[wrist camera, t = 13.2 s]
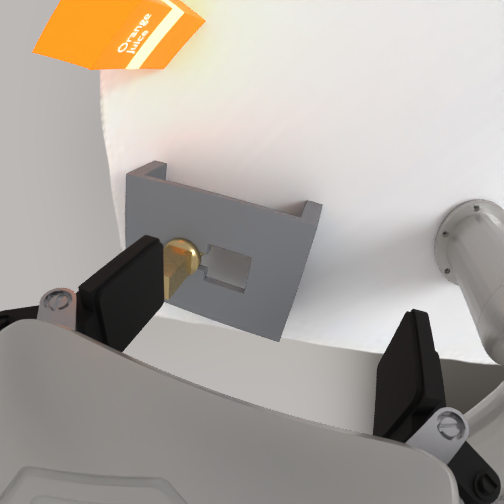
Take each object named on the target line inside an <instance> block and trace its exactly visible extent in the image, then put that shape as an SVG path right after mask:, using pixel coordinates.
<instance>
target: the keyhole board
mask: <svg viewBox="0 0 504 504" xmlns="http://www.w3.org/2000/svg"><path fill="white" fill-rule="evenodd" d="M166 165H167V163H163V162H159V161H153V162H151V163H148V164H146V165H144V166H142V167H140V168H138V169H135V170H133V171H131V172H129V173H127V174H126V203H125V235H126V249H127V248H128V247H129V246H131V245H132V244H133V243H135V242H136V241H137V240H139V239H140V238H141V237H143V236H144V235H149V236H152V237H156V238H159V239H160V243H162V244H163V249H164V247H165V245H166V244H167V243H168V242H169V241H171V240H172V239H174V238H185V239H188V240H189V241H191V242H192V243H193V244H194V245H195V246H196V247H197V248H198V250H199V252H201V253H204V254H207V253H208V252H209V251H210V245H213V246H217V247H220V248H223V249H226V250H229V251H233V252H236V253H239V254H242V255H245V256H248V257H252V260H251V264H250V269H249V273H248V278H247V282H246V287H245V289H242V288H239V287H236V286H233V285H230V284H227V283H224V282H221V281H218V280H215V279H212V278H209V277H206V274H207V267H205V266H202V265H200V266H199V267H198V269H197V270H196V271H195V272H194V273H193V274H192V275H189V276H188V277H187V278H186V279H185V280H184V282H183V283H182V284H181V285H180V287H179V288H178V289H177V290H176V292H175V293H174V294H173V295H172V297H171V298H170V299H169V300H167V299H164V302H166V303H169V304H171V305H174V306H177V307H179V308H182V309H185V310H187V311H190V312H193V313H195V314H198V315H201V316H204V317H206V318H209V319H212V320H215V321H218V322H220V323H223V324H226V325H229V326H232V327H235V328H238V329H241V330H244V331H247V332H250V333H253V334H256V335H259V336H262V337H265V338H268V339H271V340H274V341H277V342H279V341H280V338H281V335H282V332H283V329H284V327H285V324H286V321H287V318H288V315H289V312H290V309H291V306H292V303H293V301H294V298H295V295H296V292H297V289H298V286H299V283H300V280H301V277H302V274H303V271H304V267H305V264H306V261H307V258H308V255H309V252H310V249H311V246H312V242H313V239H314V236H315V233H316V230H317V226H318V222H319V218H320V213H321V209H322V204H318V203H315V202H312V201H308V200H307V203H306V205H305V208H304V211H303V213H302V216H301V217H297V216H294V215H291V214H287V213H284V212H280V211H277V210H274V209H270V208H267V207H263V206H260V205H256V204H253V203H249V202H246V201H242V200H238V199H235V198H231V197H227V196H224V195H220V194H216V193H213V192H209V191H205V190H201V189H198V188H194V187H190V186H186V185H182V184H178V183H174V182H171V181H167V180H165V176H166Z"/></svg>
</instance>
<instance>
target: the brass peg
mask: <svg viewBox="0 0 504 504" xmlns="http://www.w3.org/2000/svg"><path fill="white" fill-rule="evenodd" d="M211 246H212V245H210V247H211ZM202 255H204V253H201V252H199V250H198V248H197V247H196V246H195V245H194V244H193V243H192V242H191V241H189V240H188V239H185V238H174V239H172V240H171V241H169V242H168V243H167V244H166V245H165V247H164V249H163V256H164V299H167V300H169V299H170V298H171V297H172V295H173V294H174V293H175V292H176V290H177V289H178V288H179V287H180V285H181V284H182V283H183V282H184V280H185V279H186V278H187V277H188V276H189V275H192V274H193V273H194V272H195V271H196V270H197V269H198V267H199V266H200V264H201V256H202Z"/></svg>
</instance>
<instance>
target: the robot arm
mask: <svg viewBox="0 0 504 504" xmlns="http://www.w3.org/2000/svg"><path fill="white" fill-rule="evenodd" d="M474 206H476V207H475V208H474ZM443 232H445V233H443ZM435 257H436V260H437V264H438V266H439V268H440V270H441V272H442V274H443V275H444V276H445V277H446V278H447V279H448V280H449V281H451V282H452V283H454V284H456V285H459V286H460V289H461V291H462V293H463V296H464V298H465V301H466V303H467V305H468V308H469V310H470V313H471V315H472V318H473V321H474V323H475V326H476V329H477V331H478V334H479V337H480V339H481V342H482V345H483V347H484V349H485V351H486V353H487V354H488V355H489V357H490V358H491V359H492V360H494V361H495V362H496V363H498V364H500V365H502V366H504V210H503V209H502V208H501V207H500V206H498V205H497V204H495V203H493V202H491V201H487V200H473V201H469V202H466V203H464V204H462V205H460V206H458V207H457V208H456V209H454V210H453V211H452V212H451V213H450V214H449V215H448V216H447V217H446V219H445V220H444V221H443V223H442V224H441V227H440V229H439V231H438V233H437V237H436V241H435ZM78 288H79V291H78V292H77V293H76V294H75V293H74V291H72V290H70V289H67V288H56V289H53V290H50V291H48V292H47V293H45V294H44V295H43V296H42V298H41V300H40V305H38V306H32V307H25V308H18V309H12V310H4V311H1V312H0V504H504V381H503V382H502V383H501V384H500V385H499V386H498V388H496V390H494V391H493V392H492V393H491V394H489V395H488V396H487V397H486V398H485V399H483V400H482V401H481V402H480V403H478V404H477V405H476V406H475V407H473V408H472V409H471V410H469V411H468V412H467V413H465V414H464V415H462V414H461V413H460V412H459V411H457V410H456V409H453V408H447V407H446V402H445V393H444V385H443V379H442V372H441V366H440V360H439V355H438V353H437V352H436V351H435V348H434V342H433V337H432V331H431V326H430V321H429V317H428V313H427V312H424V311H420V310H416V309H412V310H411V312H408V311H407V312H406V313H405V315H404V317H403V319H402V321H401V323H400V325H399V327H398V329H397V330H396V332H395V334H394V336H393V338H392V340H391V342H390V344H389V346H388V347H387V349H386V351H385V353H384V355H383V357H382V358H381V360H380V362H379V364H378V368H377V382H376V400H375V415H374V428H373V435H369V434H365V433H360V432H355V431H351V430H347V429H342V428H338V427H334V426H330V425H326V424H322V423H318V422H314V421H310V420H306V419H302V418H299V417H295V416H292V415H288V414H284V413H281V412H278V411H274V410H271V409H268V408H264V407H261V406H258V405H255V404H252V403H249V402H246V401H243V400H240V399H236V398H234V397H231V396H228V395H225V394H222V393H219V392H216V391H214V390H211V389H208V388H206V387H203V386H200V385H198V384H195V383H192V382H190V381H187V380H185V379H182V378H180V377H177V376H175V375H172V374H170V373H167V372H165V371H162V370H160V369H158V368H155V367H153V366H151V365H148V364H146V363H144V362H142V361H139V360H137V359H135V358H133V357H130V356H128V355H126V354H124V353H122V352H123V351H124V350H125V348H126V347H127V346H128V345H129V344H130V342H131V341H132V340H133V339H134V338H135V337H136V335H137V334H138V333H139V332H140V331H141V330H142V328H143V327H144V326H145V325H146V324H147V323H148V321H149V320H150V319H151V318H152V317H153V316H154V315H155V313H156V312H157V311H158V310H159V309H160V308H161V306H162V305H163V303H164V256H163V244H162V243H160V239H159V238H156V237H152V236H149V235H144V236H143V237H141V238H140V239H139V240H137V241H136V242H135V243H133V244H132V245H131V246H129V247H128V248H127V249H125V250H124V251H123V252H121V253H120V254H119V255H118V256H116V257H115V258H114V259H113V260H111V261H110V262H109V263H107V265H105V266H104V267H103V268H101V269H100V270H99V271H97V272H96V273H95V274H94V275H92V276H91V277H90V278H89V279H88V280H86V281H85V282H84V283H82V284H81V285H80V286H79V287H78Z"/></svg>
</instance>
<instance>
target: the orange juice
mask: <svg viewBox="0 0 504 504" xmlns="http://www.w3.org/2000/svg"><path fill="white" fill-rule="evenodd" d="M204 22H205V20H204V19H203V18H202V17H200V16H199V15H198V14H197V13H195V12H194V11H193V10H191V9H190V8H189V7H188V6H186V5H185V4H184V3H182V2H181V1H180V0H61V1H60V3H59V4H58V6H57V8H56V9H55V11H54V13H53V14H52V16H51V18H50V20H49V21H48V23H47V25H46V27H45V29H44V31H43V32H42V34H41V36H40V38H39V40H38V42H37V44H36V46H35V48H34V50H33V53H37V54H41V55H44V56H48V57H52V58H55V59H59V60H62V61H66V62H70V63H73V64H76V65H79V66H83V67H85V68H88V69H90V70H99V69H164V68H165V67H166V66H167V64H168V63H169V62H170V61H171V60H172V58H173V57H174V56H175V55H176V54H177V52H178V51H179V50H180V49H181V48H182V47H183V45H184V44H185V43H186V42H187V41H188V40H189V39H190V37H191V36H192V35H193V34H194V33H195V32H196V31H197V30H198V29H199V28H200V27H201V25H202V24H203V23H204Z"/></svg>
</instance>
